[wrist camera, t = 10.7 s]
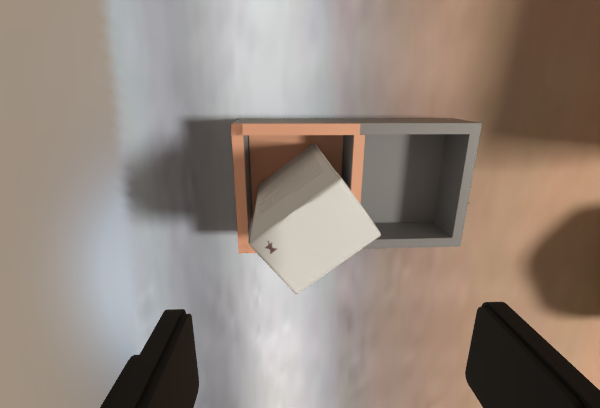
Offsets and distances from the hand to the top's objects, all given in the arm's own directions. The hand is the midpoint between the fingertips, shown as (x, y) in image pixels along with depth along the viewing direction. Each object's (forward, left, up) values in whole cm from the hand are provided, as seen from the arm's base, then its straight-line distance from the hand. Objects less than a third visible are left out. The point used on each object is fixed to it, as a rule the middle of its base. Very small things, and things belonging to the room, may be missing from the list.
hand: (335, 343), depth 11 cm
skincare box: (0, 0, -19) cm, 19 cm away
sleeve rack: (-4, 0, -20) cm, 20 cm away
